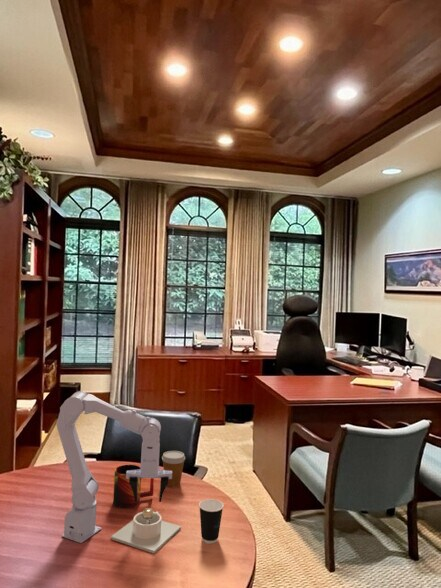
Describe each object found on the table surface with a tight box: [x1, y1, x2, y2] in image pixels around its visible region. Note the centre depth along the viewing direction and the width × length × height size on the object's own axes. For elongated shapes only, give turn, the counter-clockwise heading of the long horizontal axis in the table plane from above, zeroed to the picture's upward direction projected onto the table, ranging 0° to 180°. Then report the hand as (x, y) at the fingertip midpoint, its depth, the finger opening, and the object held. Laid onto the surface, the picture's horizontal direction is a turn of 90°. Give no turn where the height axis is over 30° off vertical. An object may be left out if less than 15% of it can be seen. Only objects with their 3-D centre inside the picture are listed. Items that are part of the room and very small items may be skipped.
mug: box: [112, 464, 155, 510], centre depth 163 cm, size 10×14×12 cm
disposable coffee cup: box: [161, 450, 186, 488], centre depth 178 cm, size 10×10×12 cm
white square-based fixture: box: [110, 511, 182, 554], centre depth 140 cm, size 16×16×5 cm
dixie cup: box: [198, 498, 225, 545], centre depth 139 cm, size 8×8×11 cm
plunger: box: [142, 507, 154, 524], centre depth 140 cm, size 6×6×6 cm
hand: (148, 500), depth 141 cm, fingers open, 7 cm apart
